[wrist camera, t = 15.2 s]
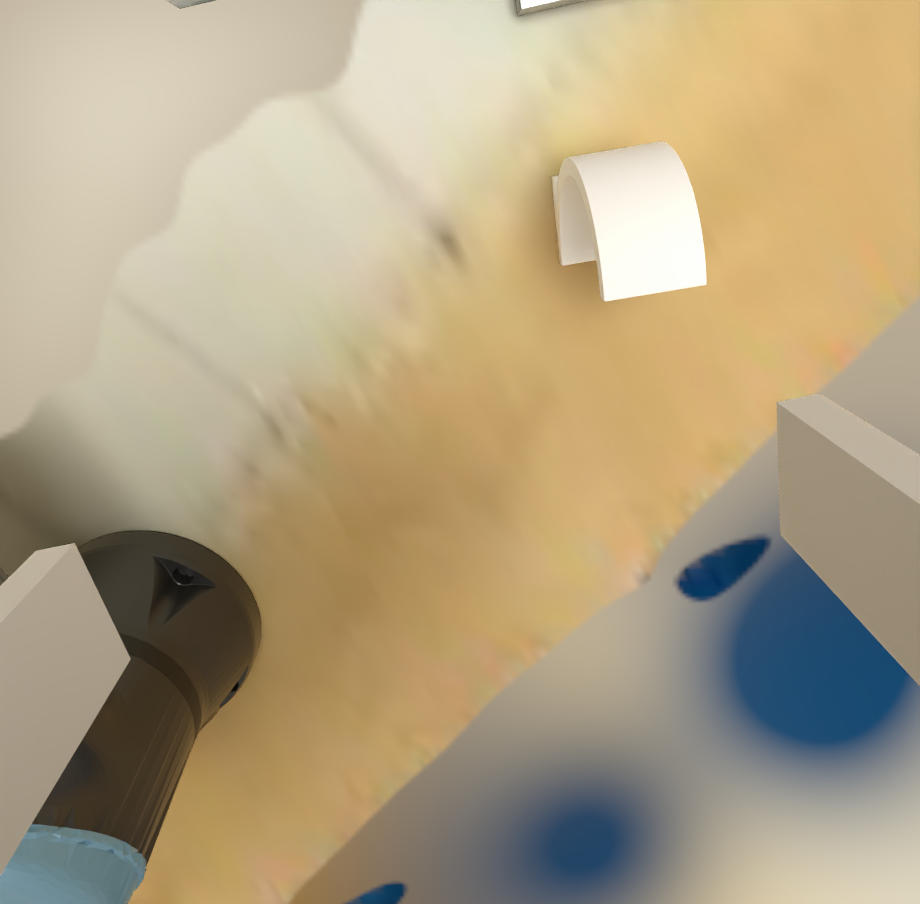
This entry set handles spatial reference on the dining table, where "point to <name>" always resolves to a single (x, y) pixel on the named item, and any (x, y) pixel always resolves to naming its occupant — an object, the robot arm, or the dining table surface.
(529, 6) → the socket collar
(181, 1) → the tray
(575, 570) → the dining table surface
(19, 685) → the robot arm
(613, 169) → the white curved strip
